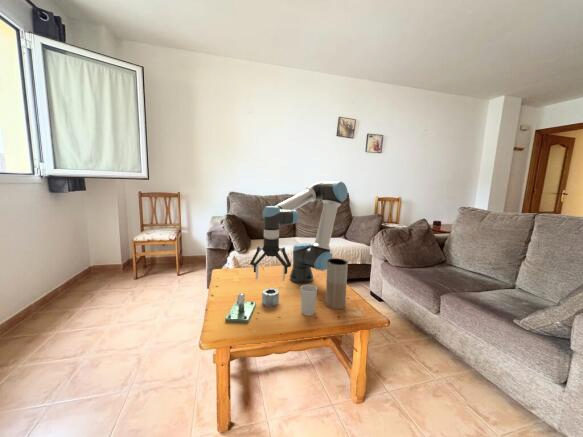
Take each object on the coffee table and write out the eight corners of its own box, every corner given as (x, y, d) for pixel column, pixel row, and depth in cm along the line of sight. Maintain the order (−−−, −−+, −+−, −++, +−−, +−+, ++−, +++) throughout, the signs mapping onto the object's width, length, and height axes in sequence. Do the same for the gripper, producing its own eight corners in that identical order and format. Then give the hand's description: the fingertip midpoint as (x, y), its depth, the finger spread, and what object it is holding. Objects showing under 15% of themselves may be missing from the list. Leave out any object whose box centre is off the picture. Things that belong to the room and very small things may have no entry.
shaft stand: (255, 304, 118) (255, 287, 117) (247, 322, 103) (247, 303, 101) (236, 303, 119) (235, 286, 118) (225, 321, 103) (225, 302, 102)
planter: (321, 304, 121) (323, 260, 118) (332, 297, 128) (334, 257, 125) (338, 311, 114) (340, 265, 111) (349, 304, 121) (351, 261, 118)
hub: (279, 299, 125) (279, 288, 124) (277, 307, 117) (277, 295, 116) (264, 298, 125) (264, 287, 124) (261, 306, 117) (261, 294, 117)
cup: (302, 317, 108) (303, 292, 106) (297, 308, 116) (298, 285, 114) (318, 315, 110) (320, 290, 109) (312, 306, 118) (313, 283, 116)
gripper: (296, 237, 120) (295, 277, 122) (248, 235, 121) (247, 275, 124) (296, 240, 112) (294, 283, 115) (244, 238, 114) (243, 280, 116)
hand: (270, 279), depth 119 cm, fingers open, 13 cm apart
